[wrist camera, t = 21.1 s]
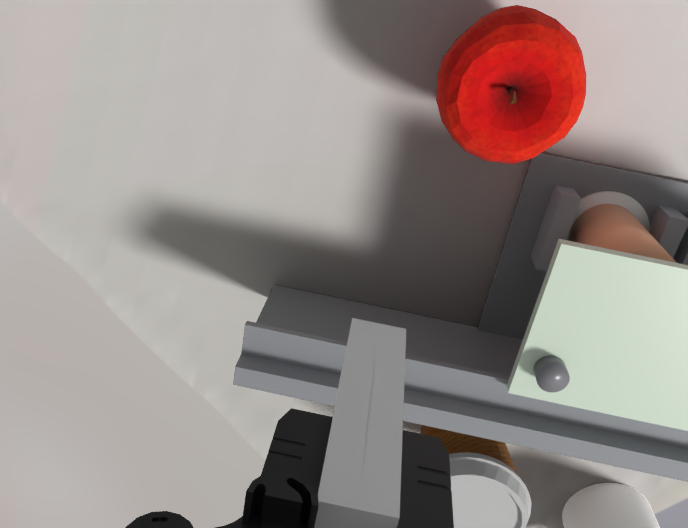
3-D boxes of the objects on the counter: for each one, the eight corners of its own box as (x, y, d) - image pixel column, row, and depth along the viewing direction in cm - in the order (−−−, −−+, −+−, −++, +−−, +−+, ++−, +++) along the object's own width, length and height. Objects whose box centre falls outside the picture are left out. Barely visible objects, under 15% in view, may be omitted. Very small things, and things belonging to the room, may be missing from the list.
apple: (469, -18, 42) (484, -17, 32) (584, 36, 43) (633, 53, 33) (413, 104, 46) (411, 138, 36) (519, 152, 46) (546, 198, 37)
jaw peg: (648, 210, 46) (697, 260, 38) (624, 270, 49) (665, 328, 40) (582, 197, 47) (616, 243, 38) (560, 257, 49) (589, 313, 41)
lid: (558, 238, 37) (565, 251, 36) (857, 300, 37) (880, 316, 35) (506, 385, 42) (510, 404, 40) (771, 441, 42) (787, 462, 40)
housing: (300, 104, 47) (262, 143, 35) (822, 209, 46) (954, 285, 34) (272, 299, 54) (233, 384, 43) (721, 394, 53) (803, 506, 42)
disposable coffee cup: (524, 383, 55) (550, 483, 44) (497, 465, 59) (514, 575, 48) (417, 364, 55) (416, 458, 44) (397, 446, 59) (393, 551, 48)
